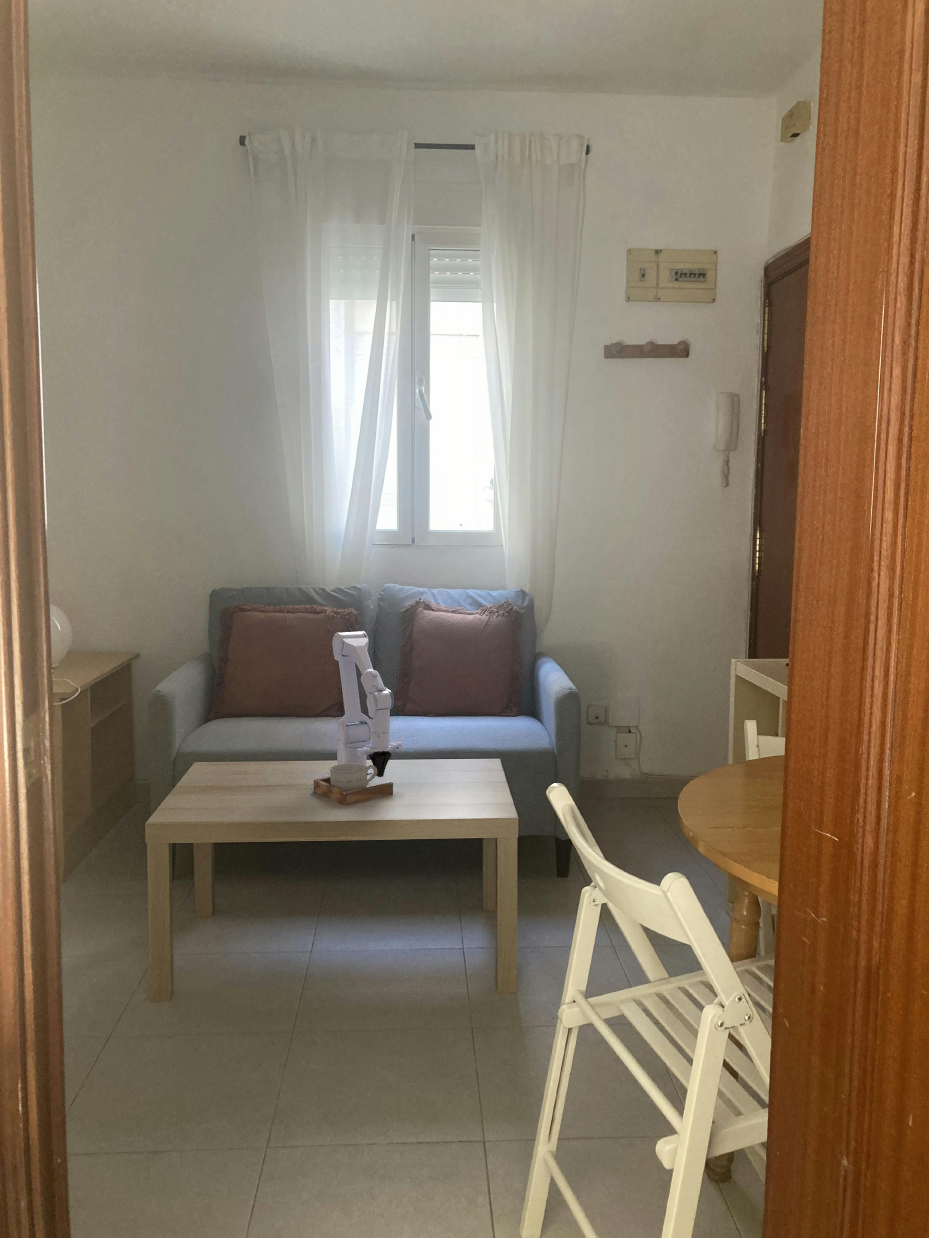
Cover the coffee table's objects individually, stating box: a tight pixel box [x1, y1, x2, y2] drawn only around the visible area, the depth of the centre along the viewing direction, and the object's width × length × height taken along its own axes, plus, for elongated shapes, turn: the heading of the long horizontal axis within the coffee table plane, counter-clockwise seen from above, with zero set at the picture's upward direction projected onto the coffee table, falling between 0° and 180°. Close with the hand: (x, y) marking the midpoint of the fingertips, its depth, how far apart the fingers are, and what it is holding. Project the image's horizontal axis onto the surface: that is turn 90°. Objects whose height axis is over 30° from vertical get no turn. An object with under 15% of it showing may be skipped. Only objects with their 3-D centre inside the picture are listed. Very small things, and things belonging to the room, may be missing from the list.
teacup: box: [329, 763, 377, 792], centre depth 272 cm, size 14×11×8 cm
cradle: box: [313, 776, 394, 807], centre depth 272 cm, size 16×17×4 cm
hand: (379, 776), depth 278 cm, fingers closed
